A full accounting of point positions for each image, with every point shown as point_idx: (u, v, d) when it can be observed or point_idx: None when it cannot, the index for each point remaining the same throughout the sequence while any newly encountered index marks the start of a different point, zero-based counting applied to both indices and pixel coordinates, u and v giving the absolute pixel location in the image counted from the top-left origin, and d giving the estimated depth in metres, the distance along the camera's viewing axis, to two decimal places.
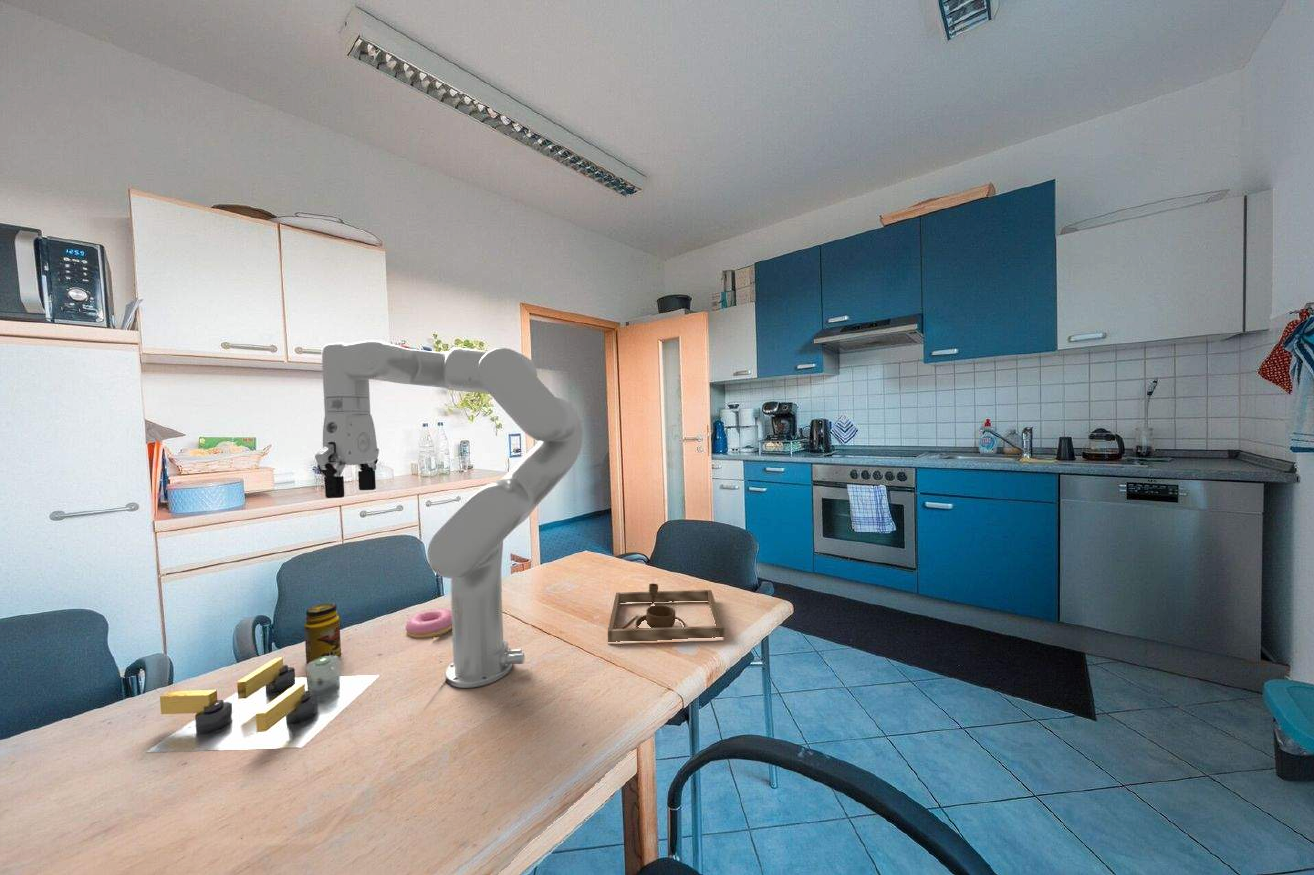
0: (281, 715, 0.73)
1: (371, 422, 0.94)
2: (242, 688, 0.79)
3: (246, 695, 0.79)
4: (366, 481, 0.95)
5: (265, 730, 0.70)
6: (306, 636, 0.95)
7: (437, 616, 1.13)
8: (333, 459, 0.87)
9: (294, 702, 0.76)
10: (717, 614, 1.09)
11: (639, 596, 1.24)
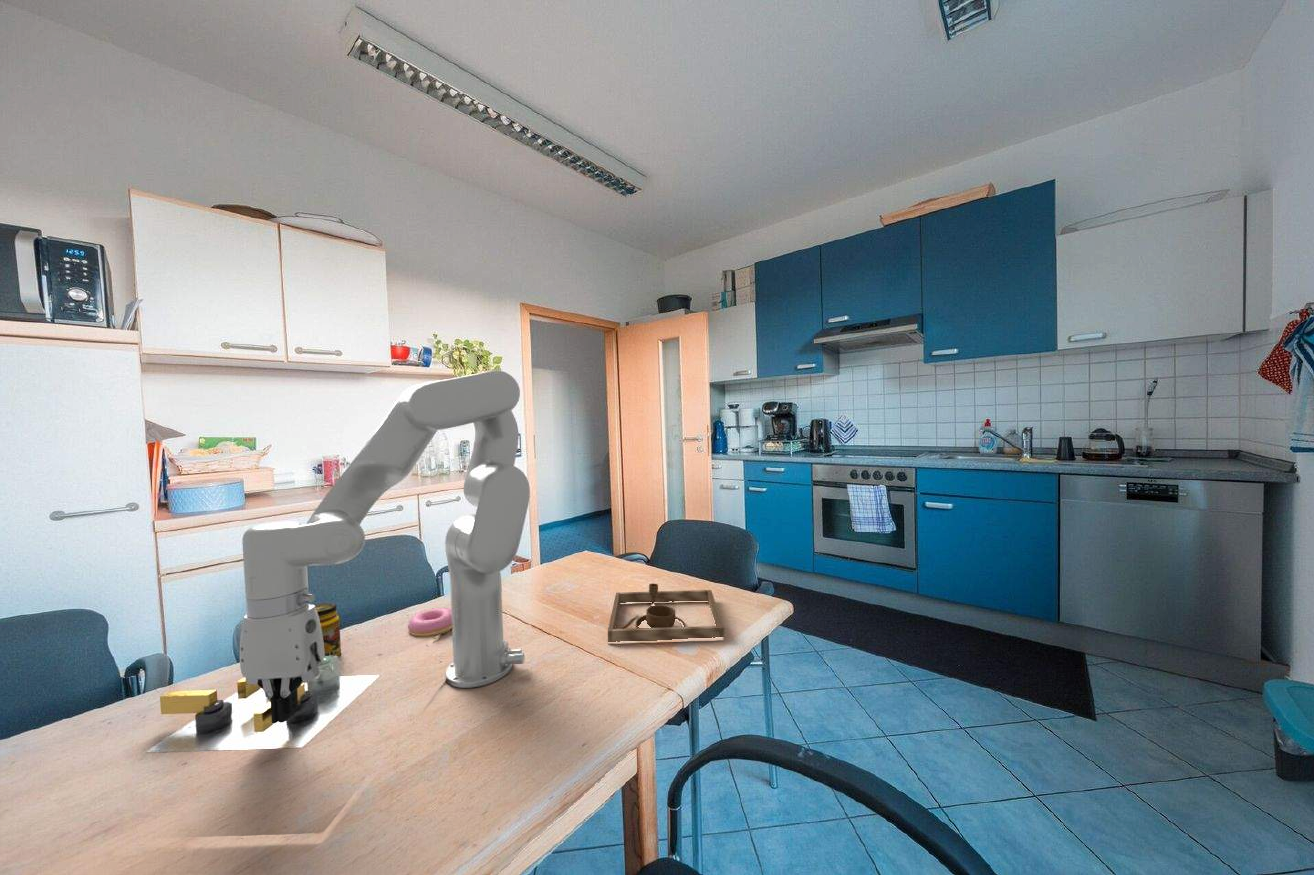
0: None
1: None
2: (242, 688, 0.79)
3: (246, 695, 0.79)
4: None
5: (262, 730, 0.70)
6: None
7: (439, 615, 1.14)
8: None
9: None
10: (717, 614, 1.09)
11: (639, 596, 1.24)
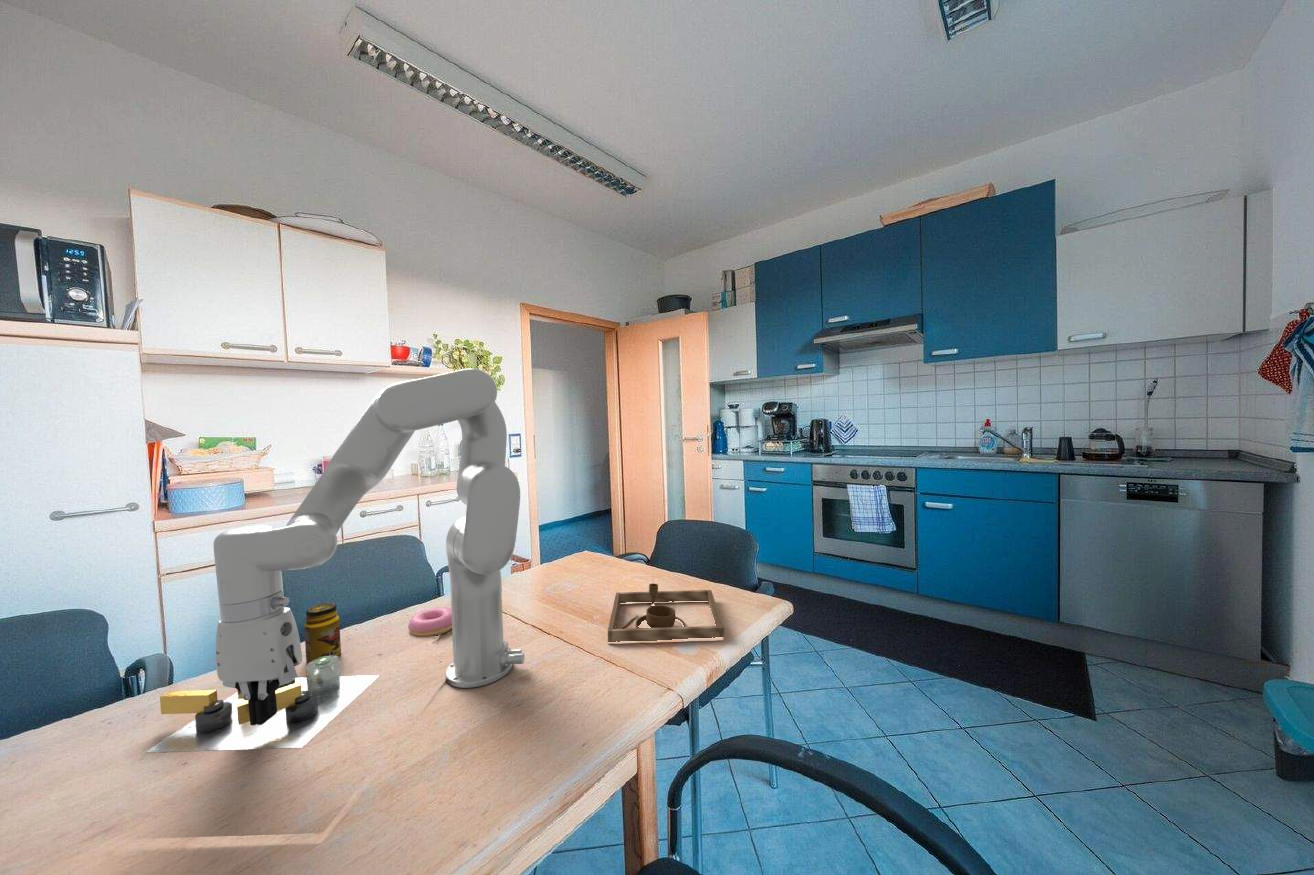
0: None
1: None
2: None
3: None
4: None
5: (238, 723, 0.72)
6: (306, 636, 0.95)
7: (439, 614, 1.14)
8: None
9: (284, 702, 0.76)
10: (717, 614, 1.09)
11: (639, 596, 1.24)
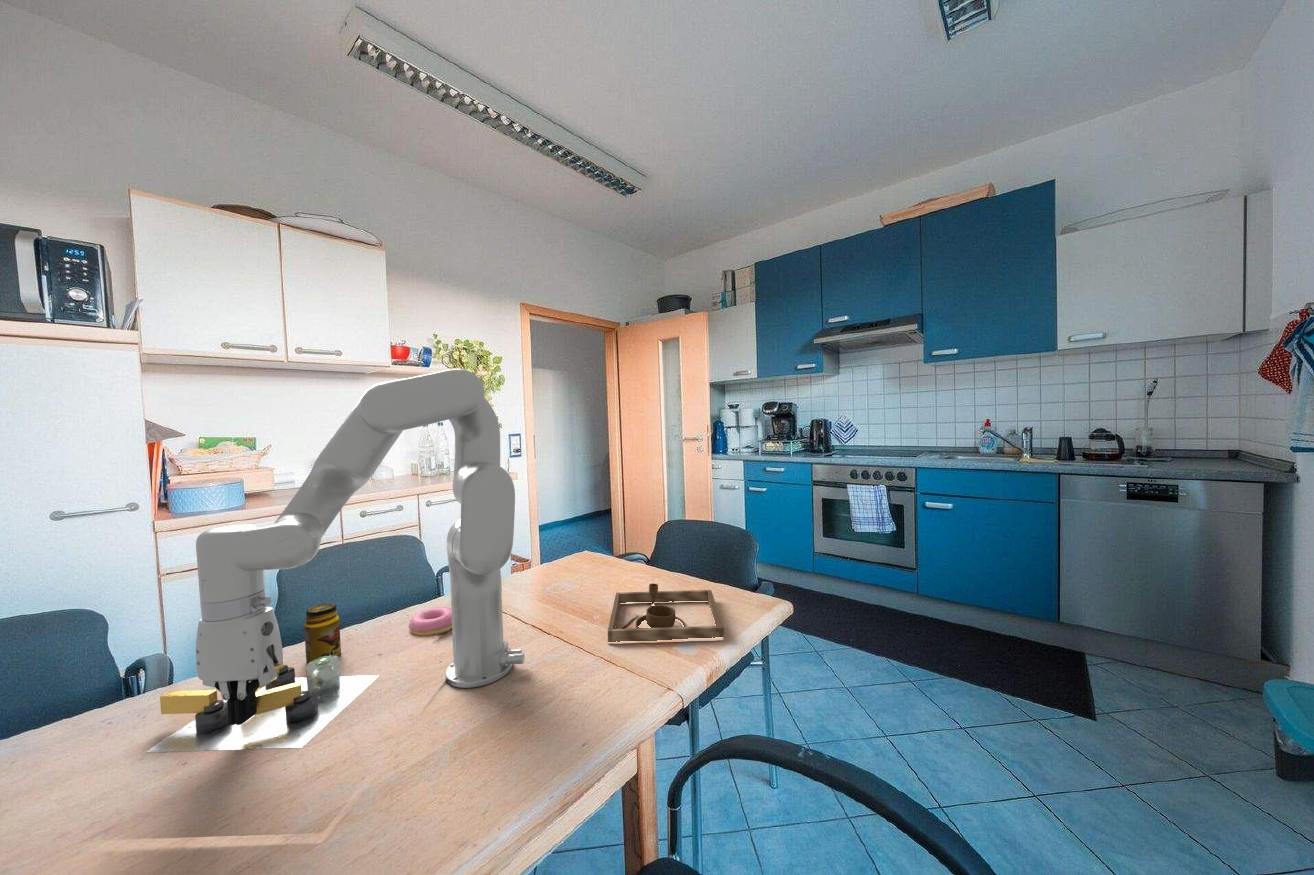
0: (262, 709, 0.75)
1: None
2: None
3: None
4: None
5: None
6: (306, 636, 0.95)
7: (440, 614, 1.14)
8: None
9: (282, 700, 0.76)
10: (717, 614, 1.09)
11: (639, 596, 1.24)
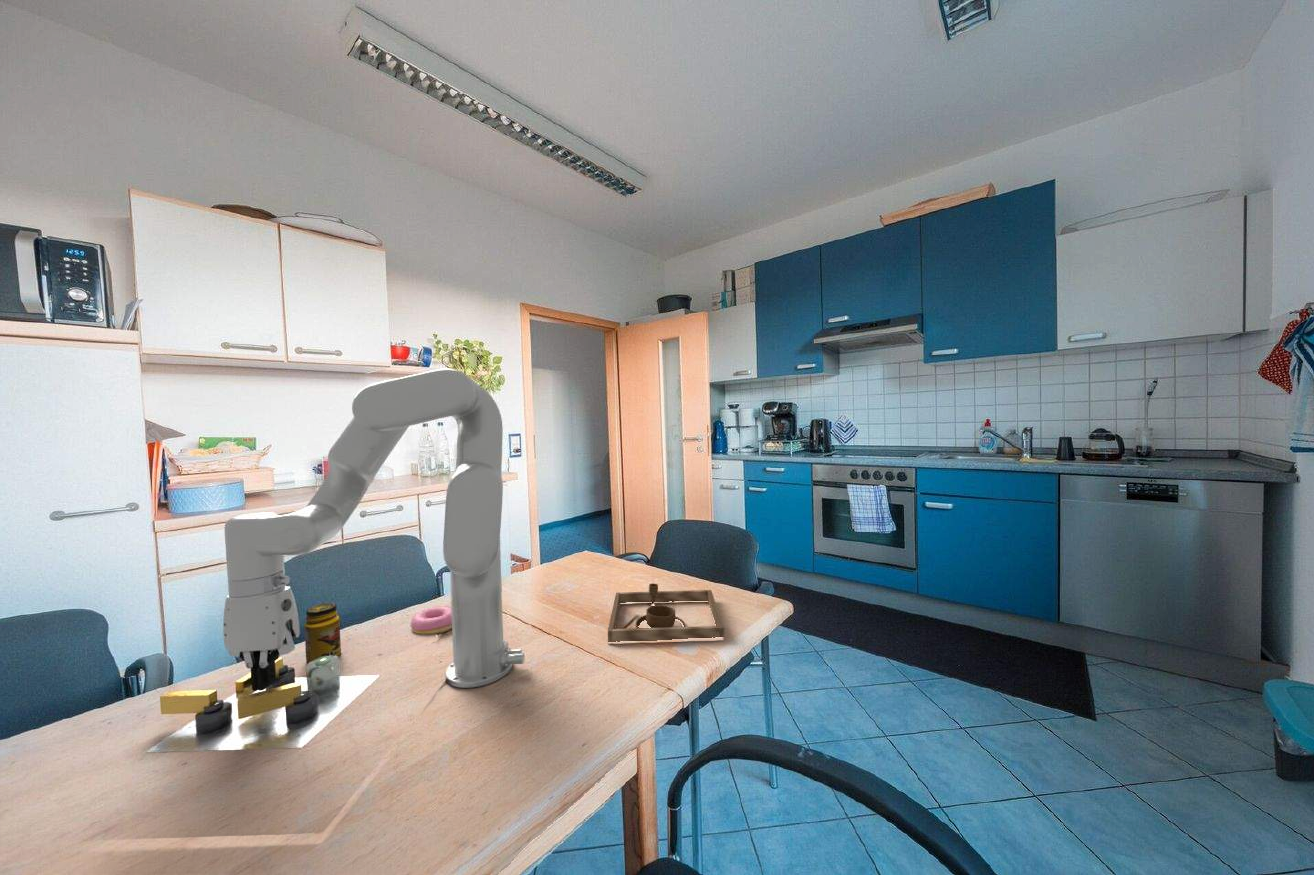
0: (262, 709, 0.75)
1: None
2: (240, 688, 0.79)
3: (244, 695, 0.79)
4: None
5: (238, 717, 0.73)
6: (306, 636, 0.95)
7: (441, 613, 1.15)
8: None
9: (282, 700, 0.76)
10: (717, 614, 1.09)
11: (639, 596, 1.24)
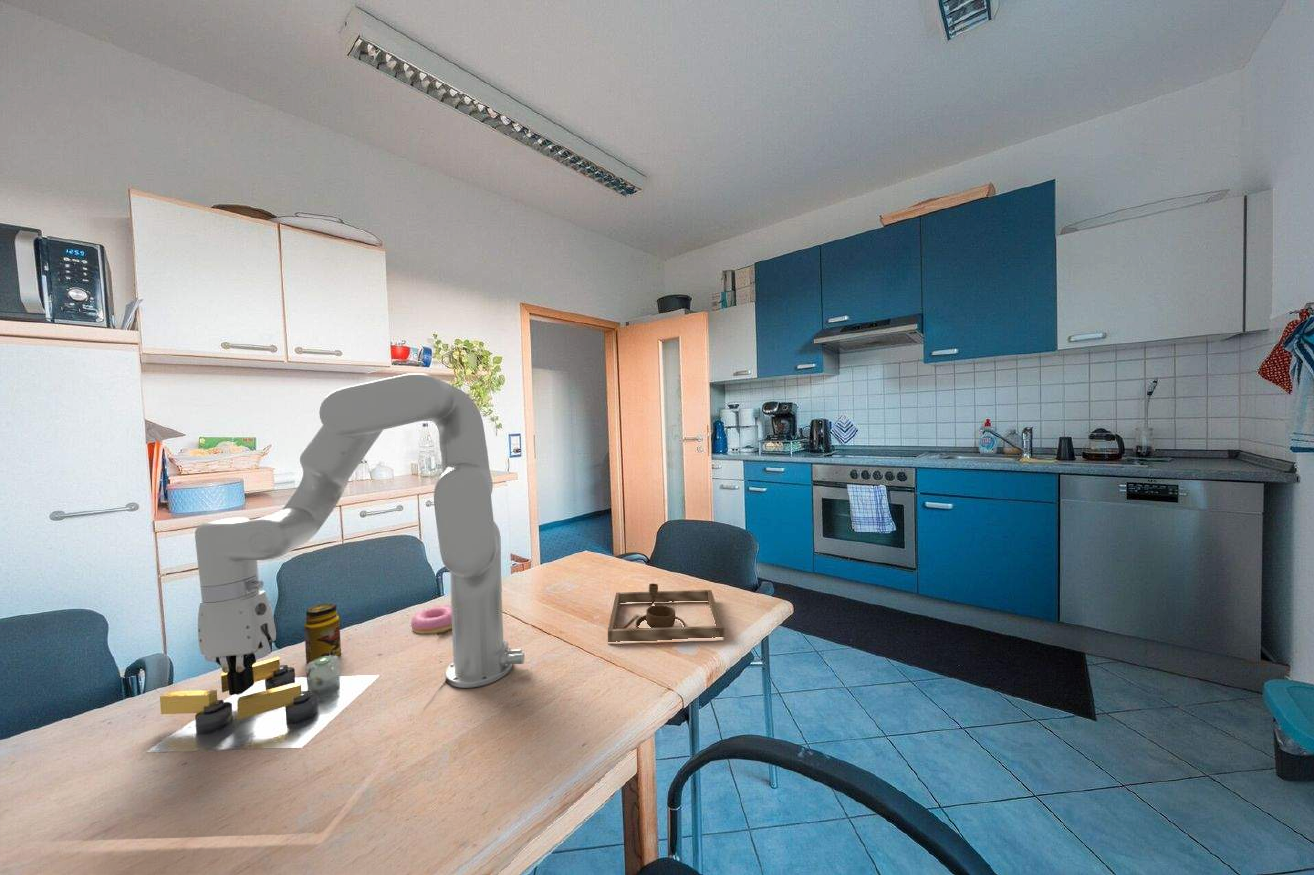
0: (262, 709, 0.75)
1: None
2: (221, 681, 0.82)
3: (222, 689, 0.81)
4: None
5: (238, 717, 0.73)
6: (306, 636, 0.95)
7: (442, 613, 1.15)
8: None
9: (282, 700, 0.76)
10: (717, 614, 1.09)
11: (639, 596, 1.24)
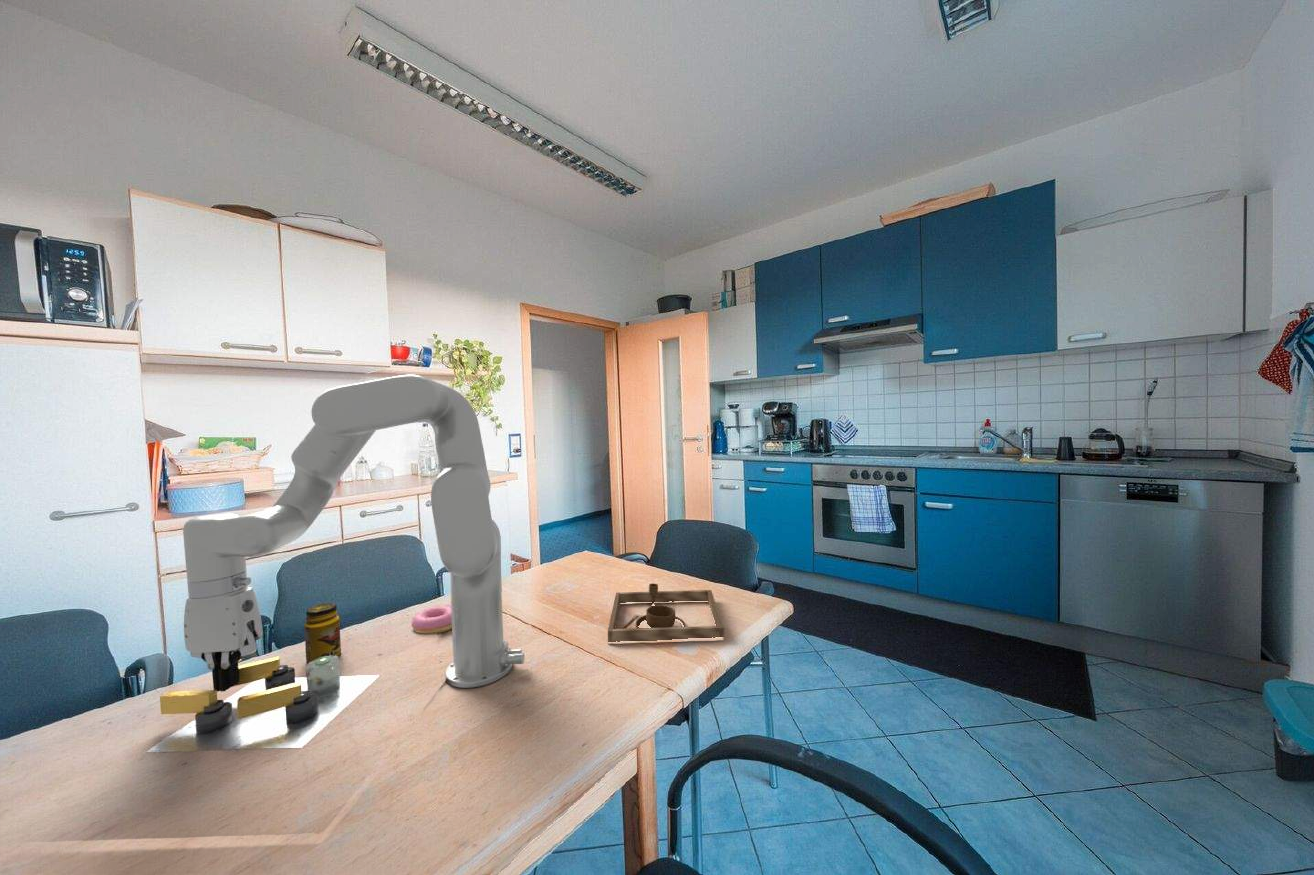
0: (262, 709, 0.75)
1: None
2: None
3: None
4: None
5: (238, 717, 0.73)
6: (306, 636, 0.95)
7: (442, 612, 1.15)
8: None
9: (282, 700, 0.76)
10: (717, 614, 1.09)
11: (639, 596, 1.24)
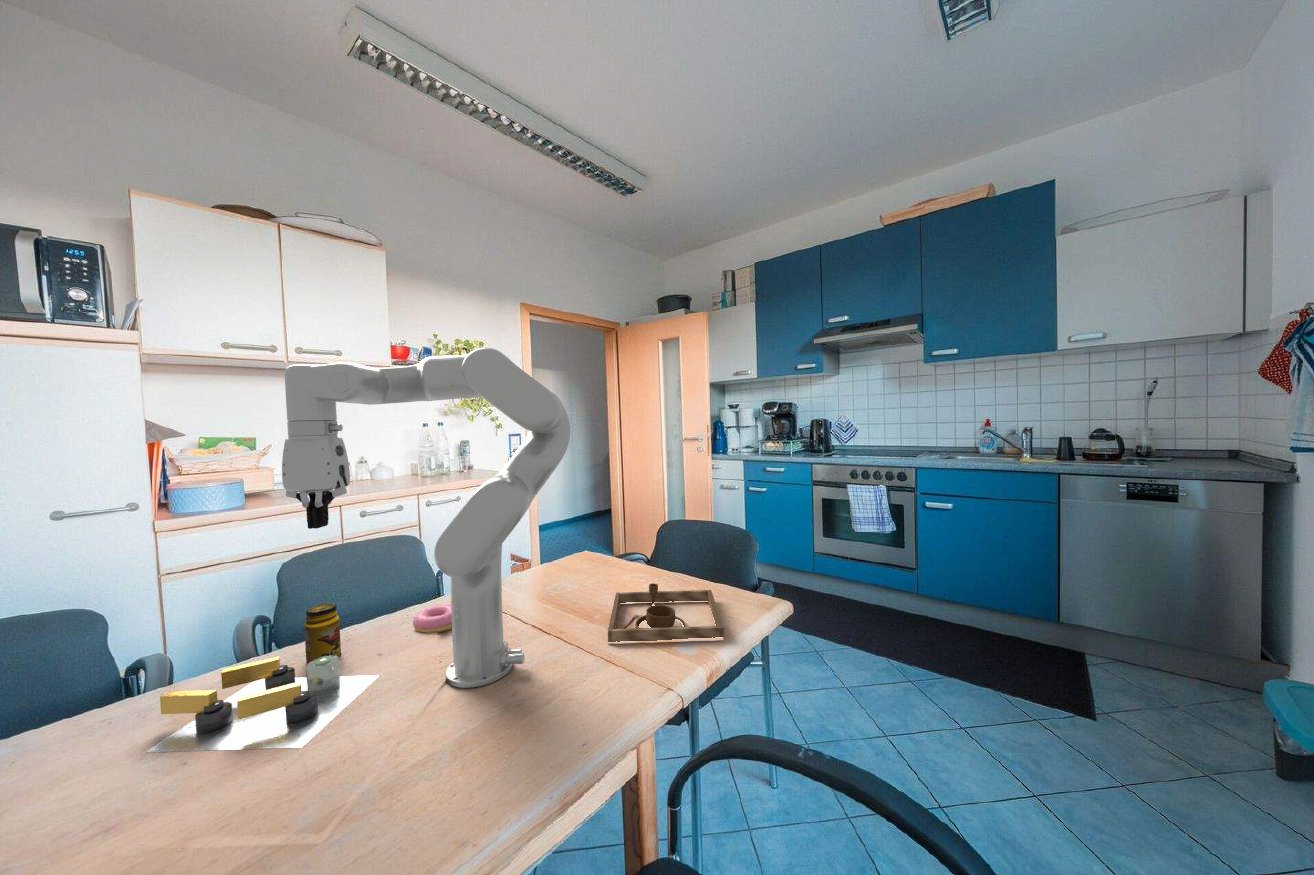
0: (262, 709, 0.75)
1: None
2: None
3: (222, 686, 0.82)
4: None
5: (238, 717, 0.73)
6: (306, 636, 0.95)
7: (443, 612, 1.16)
8: None
9: (282, 700, 0.76)
10: (717, 614, 1.09)
11: (639, 596, 1.24)
